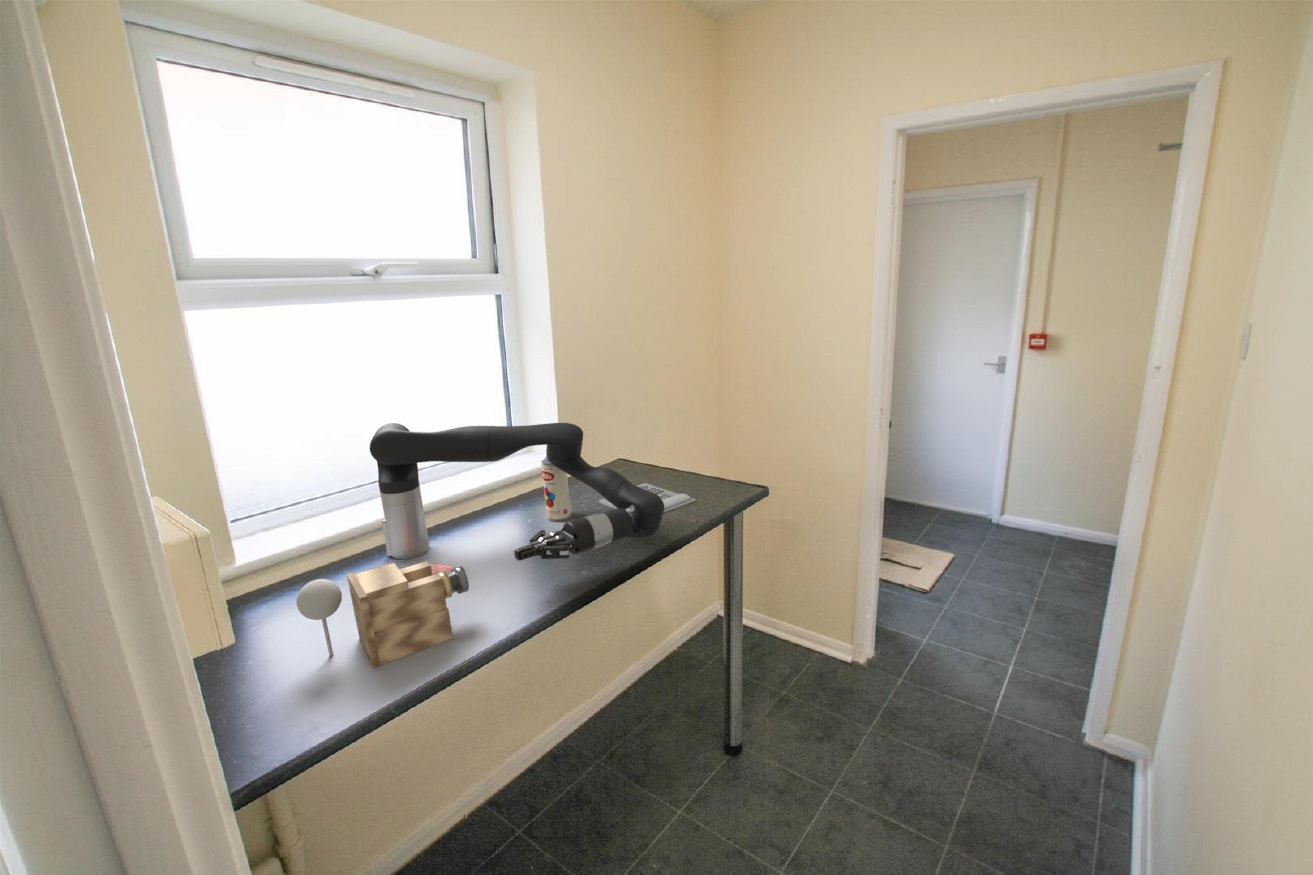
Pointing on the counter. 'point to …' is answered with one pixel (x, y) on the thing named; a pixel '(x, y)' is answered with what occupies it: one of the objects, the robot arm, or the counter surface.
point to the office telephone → (668, 497)
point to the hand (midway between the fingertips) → (516, 555)
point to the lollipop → (320, 603)
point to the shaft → (454, 581)
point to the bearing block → (399, 610)
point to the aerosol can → (555, 492)
